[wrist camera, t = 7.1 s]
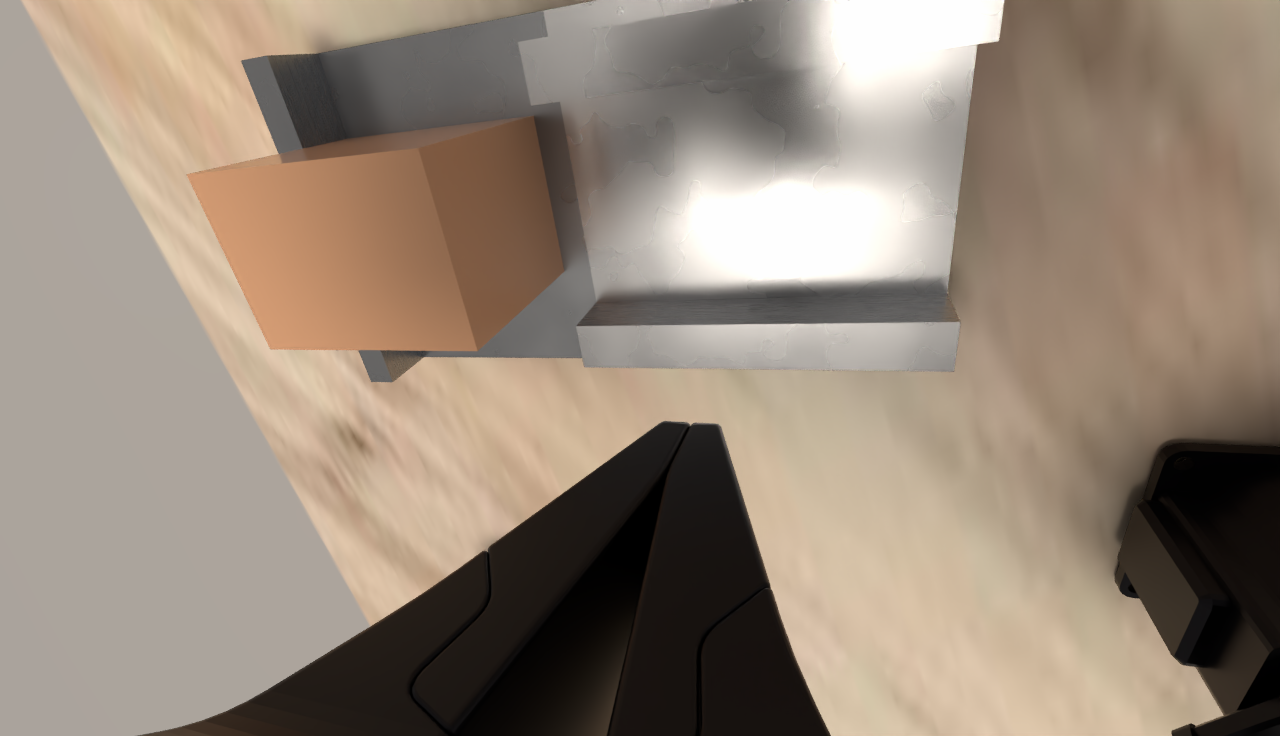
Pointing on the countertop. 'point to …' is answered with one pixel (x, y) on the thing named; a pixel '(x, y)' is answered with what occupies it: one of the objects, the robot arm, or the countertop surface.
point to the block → (389, 237)
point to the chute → (698, 170)
